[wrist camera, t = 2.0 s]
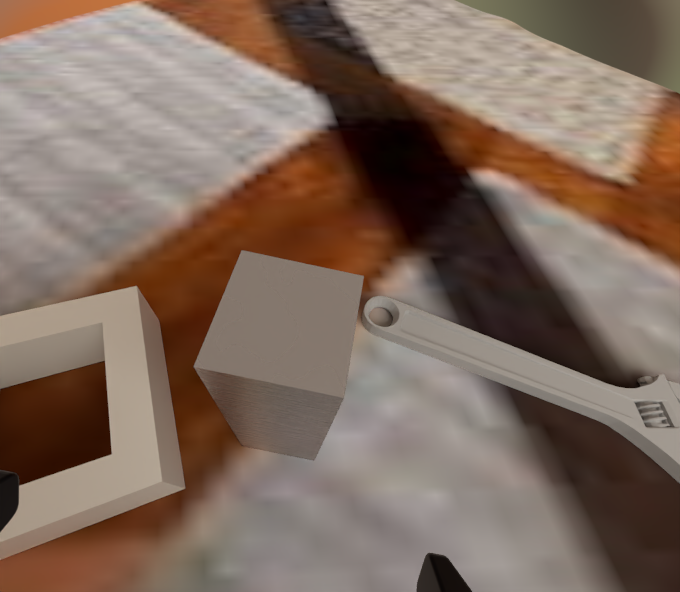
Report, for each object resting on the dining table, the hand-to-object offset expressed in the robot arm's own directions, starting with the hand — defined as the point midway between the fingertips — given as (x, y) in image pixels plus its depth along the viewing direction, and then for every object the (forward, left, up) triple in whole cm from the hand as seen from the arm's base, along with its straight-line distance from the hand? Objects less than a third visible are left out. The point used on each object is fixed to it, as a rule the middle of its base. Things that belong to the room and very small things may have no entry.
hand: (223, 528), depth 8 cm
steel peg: (+5, +3, -12) cm, 13 cm away
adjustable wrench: (+18, -8, -12) cm, 23 cm away
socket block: (-3, +11, -12) cm, 16 cm away
